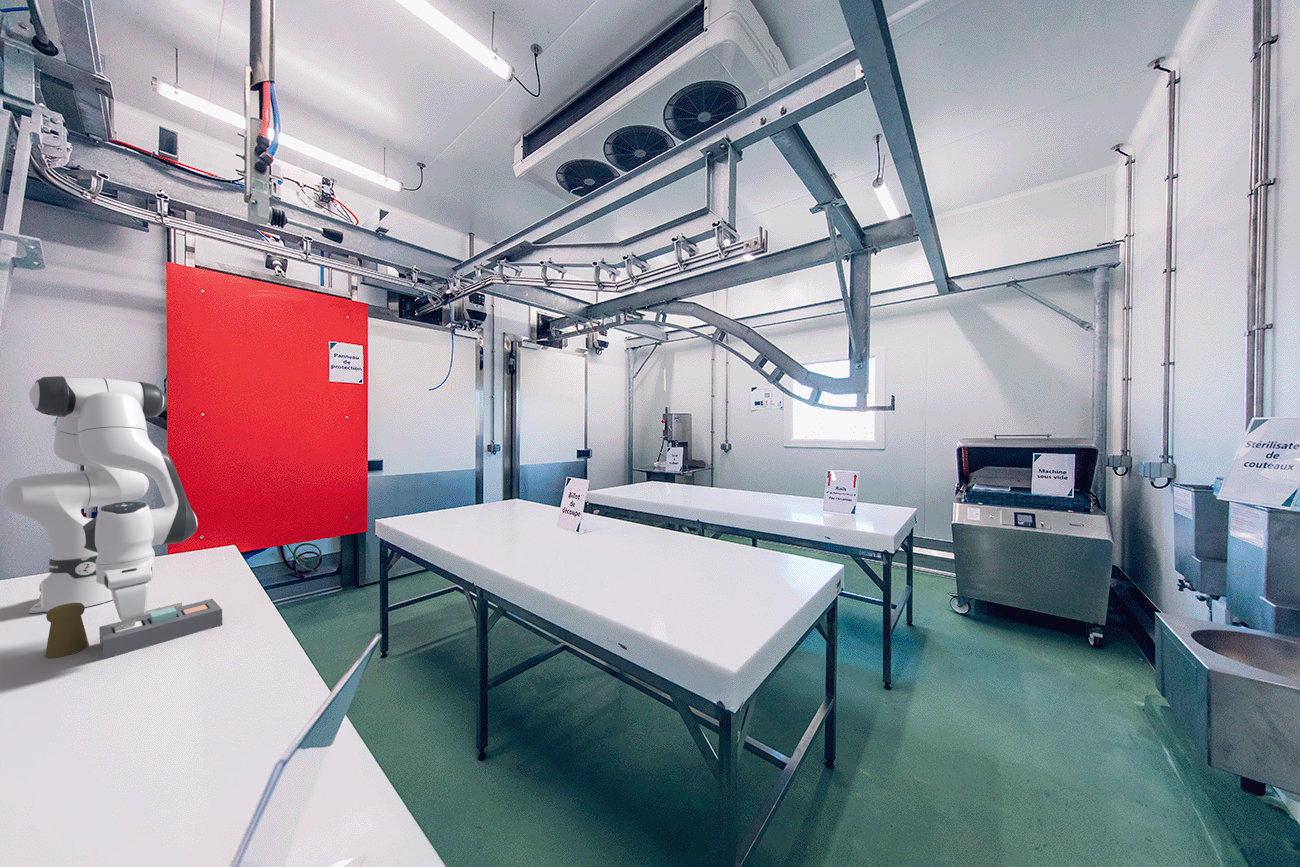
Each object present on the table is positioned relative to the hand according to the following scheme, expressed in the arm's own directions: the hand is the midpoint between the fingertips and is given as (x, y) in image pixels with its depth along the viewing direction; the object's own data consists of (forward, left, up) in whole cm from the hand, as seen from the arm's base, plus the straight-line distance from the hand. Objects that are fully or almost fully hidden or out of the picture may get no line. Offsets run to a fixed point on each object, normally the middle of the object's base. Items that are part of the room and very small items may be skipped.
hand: (128, 626), depth 99 cm
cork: (-7, -9, -5) cm, 12 cm away
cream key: (0, 0, -3) cm, 3 cm away
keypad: (0, +5, -4) cm, 7 cm away
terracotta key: (0, +11, -3) cm, 11 cm away
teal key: (0, +5, -2) cm, 6 cm away
